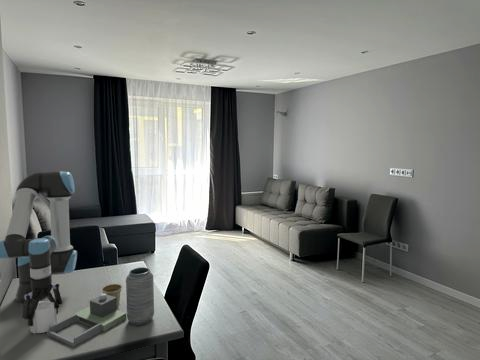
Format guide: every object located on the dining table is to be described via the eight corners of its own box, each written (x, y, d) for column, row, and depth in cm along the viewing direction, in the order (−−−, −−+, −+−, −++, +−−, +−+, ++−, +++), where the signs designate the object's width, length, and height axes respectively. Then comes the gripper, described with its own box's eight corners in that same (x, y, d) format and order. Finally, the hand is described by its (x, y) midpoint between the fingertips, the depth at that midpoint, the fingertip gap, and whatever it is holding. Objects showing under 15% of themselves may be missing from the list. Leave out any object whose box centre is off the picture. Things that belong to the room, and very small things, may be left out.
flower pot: (115, 310, 154) (115, 293, 153) (98, 308, 156) (97, 291, 155) (126, 301, 163) (125, 284, 163) (109, 299, 165) (109, 283, 164)
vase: (128, 329, 138) (126, 277, 136) (126, 316, 148) (124, 268, 146) (156, 323, 142) (155, 273, 140) (152, 311, 153) (151, 264, 151)
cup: (49, 316, 147) (48, 295, 146) (57, 327, 138) (56, 305, 137) (28, 323, 141) (27, 301, 140) (35, 335, 133) (34, 312, 131)
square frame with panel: (44, 333, 134) (43, 309, 133) (96, 308, 156) (95, 287, 155) (75, 347, 125) (74, 322, 124) (126, 318, 147) (125, 296, 146)
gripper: (19, 287, 125) (23, 342, 127) (70, 269, 143) (72, 317, 146) (8, 283, 128) (12, 337, 131) (59, 266, 147) (62, 313, 149)
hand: (44, 326), depth 138 cm, fingers closed on cup, 8 cm apart
